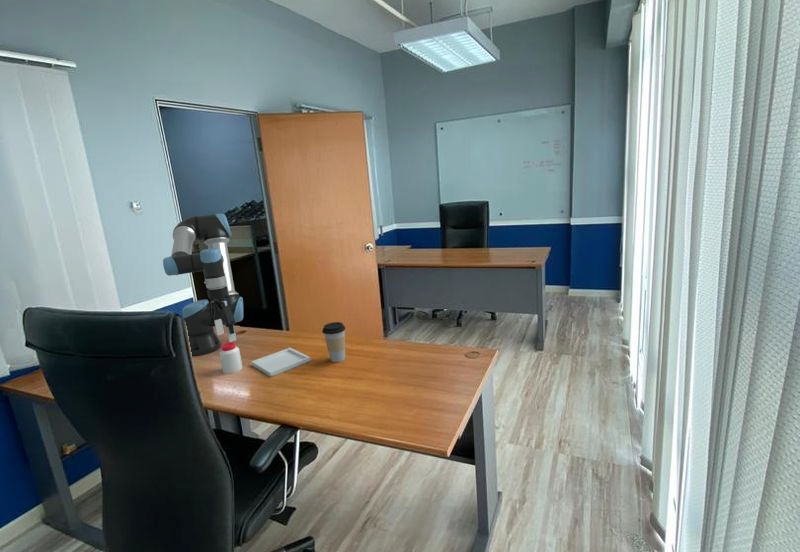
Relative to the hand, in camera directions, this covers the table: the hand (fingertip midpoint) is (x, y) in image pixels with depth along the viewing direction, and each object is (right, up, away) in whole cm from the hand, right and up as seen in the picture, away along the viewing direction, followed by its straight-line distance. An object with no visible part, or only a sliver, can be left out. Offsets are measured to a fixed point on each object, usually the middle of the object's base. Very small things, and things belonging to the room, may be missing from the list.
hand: (226, 337), depth 173 cm
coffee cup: (+45, -10, +3) cm, 46 cm away
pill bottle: (+1, -14, +3) cm, 14 cm away
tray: (+21, -11, +5) cm, 24 cm away
